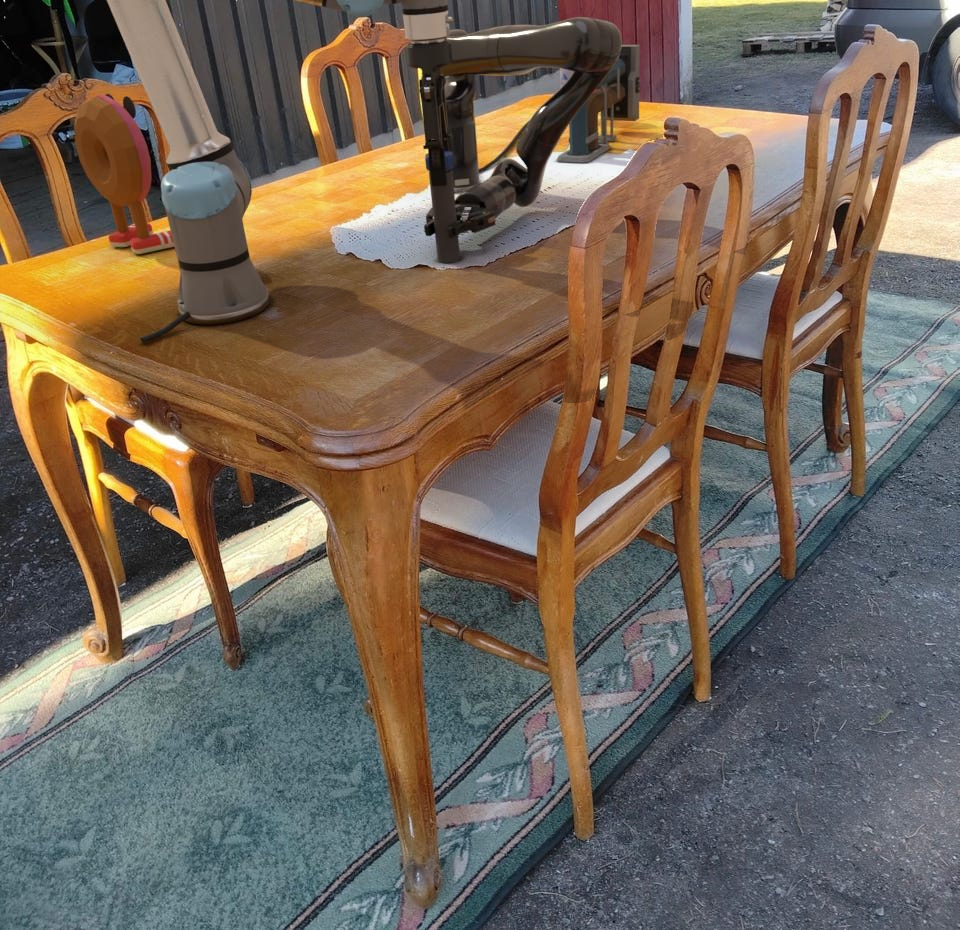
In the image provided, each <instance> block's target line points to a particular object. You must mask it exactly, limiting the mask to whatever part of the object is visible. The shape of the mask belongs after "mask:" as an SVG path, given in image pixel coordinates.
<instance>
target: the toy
mask: <svg viewBox="0 0 960 930" xmlns="http://www.w3.org/2000/svg"><path fill="white" fill-rule="evenodd" d="M136 116H137V111H136V106H135V103H134V101H133V99H132V98H131V97H129V96H128V95H126V96H124V97H123V99H122V104H121V103H119V102H118V101H117V100H115V98H114V97H113V96H112V94H111V93H106V94H105V95H104V94H101V93H99V94H97V95H95V96H93V97H91V98H89V99H86V100H85V101H83V102H81V104H79V106H78V108H77V112H76V115H75V118H74V127H73V129H74V145H75V148H76V152H77V155H78V159H79V163H80V165H81V167H82V168H83V171H84V172H85V175H86V178H87V179H88V180H89V182H90V183H91V184H92V185H93V186H94V188H95V189H96V190H97V191H98V192H99V194H100V195H102V197H103V198H104V199H106V200H108V202H109V206H110V208H111V213H112V216H113V221H114V224H115V227H116V231H114V232H112V233H110V234H109V235H108V240H109V245H110V246H111V247H114V248H127V247H130V248H131V251H132V253H134V254H135V255H142V254H146V253H151V252H156V251H162V250H167V249H170V248H175V247H174V242H173V238H172V234H171V230H170V229H169V230H166V231H160V232H156V233H154V230H153V227H152V225H151V223H149V222H148V220H147V217H146V213H145V209H144V205H143V201H144V200H145V199H146V198H147V196H148V194H149V192H150V189H151V185H152V168H151V167H152V162H151V161H152V160H151V156H150V152H149V148H148V145H147V142H146V140H145V139H146V138H145V137H144V135H143V133H142V131H141V128H140V127H139V125H138V124H137V122H136V120H135V118H136ZM126 206H127V207H130V212H131V216H132V220H133V223H132V224H130V225H129V224H128V219H127V215H126V212H125V207H126Z"/></svg>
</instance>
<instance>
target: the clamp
mask: <svg viewBox="0 0 960 930" xmlns="http://www.w3.org/2000/svg"><path fill="white" fill-rule="evenodd" d="M640 50H641V45H640V44H622V47H621V52H620V55H619V57H618V59H617V61H616V63H615V65H614V66H613V68H612V69H611V70H610V72H609V73H608V74H607V75H606V77H605V78H604V79H603V80H602V82H601V83H600V84H599V85H598V87H597V88H596V89H595V90H598V91H596V92H593V93H592V94H591V96H590V97H589V98H588V99H587V101H586V102H585V103H584V105H583V106H582V107H581V108H580V110H579V111H578V112H577V114H576V115H575V116H574V118H573V119H572V120H571V122H570V123H569V125H568V128H569V129H568V130H569V136H568V143H569V149H568V150H566V151H564V152H562V153H560V154H558V156H557V158H556V161H558V162H566V163H583V164H584V163H589V162H591V161H593V160H594V159H596V158H597V157H599V156H601V155H602V154H604V153H605V152H607V151H609V150H610V149H611V148H612V147H611V146H610V142H614V141H616V140H618V136H617V135H615V134H614V121H615V122H636V121H637V120H640V77H641V76H640V72H641V71H640V69H641V67H640V66H641V65H640V64H641V63H640V61H641V60H640V59H641V51H640ZM599 113H600V132H599ZM608 121H610V127H609V128H610V131H609V134H608V124H607V123H608ZM599 133H600V134H599Z"/></svg>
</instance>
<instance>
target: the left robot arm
mask: <svg viewBox="0 0 960 930" xmlns="http://www.w3.org/2000/svg"><path fill="white" fill-rule="evenodd" d="M294 1H295V2H299V3H304V4H309V5H313V6H318V7H324V8H326V9H331V10H336V11H341V12H344V13H346V14H347V15H349V16H351V17H352V16H353V17H357V18H367V17H370V16H372V15H374V14H375V13H376V12H378V11H379V10H380V9H381V8H382V6H385V5H397V4H401V8H402V21H403V31H404V39H405V40H406V41H408V43H407V44H406V45H405V47H406V56H407V65H408V66H409V68H410V69H411V68H412V69H416V70H417V69H420V70H421V78H420V79H418V80H419V81H418V87H419V89H418V92H419V95H420V102H421V108H422V109H421V110H422V121H423V130H424V132H423V133H424V140H425V141H424V145H423V146H422V147H423V150H427V153H428V154H429V164H430V174H431V184H432V186H447V175H446V164H445V153H444V151H449V147H448V139H447V138H452V133H447V132H448V131H449V127H448V120H447V109H446V96H445V84H446V78H445V76H444V74H441V70H440V67H443V66H447V65H449V64H451V63H452V48H451V42H450V40H448V39H447V37H448V36H449V35H450V30H451V28H450V24H452V23H453V22H454V18H453V17H452V16H448V15H449V3H448V0H293V2H294ZM106 2H107V4H108V6H109V9H110V11H111V14H112V16H113V19H114V21H115V23H116V25H117V28H118V30H119V32H120V35H121V37H122V39H123V42H124V44H125V47H126V49H127V51H128V54H129V56H130V59H131V61H132V63H133V65H134V68H135V70H136V73H137V74H138V75H137V76H138V77H139V80H140V82H141V85H142V86H143V89H144V91H145V94H146V96H147V98H148V100H149V104H150V105H151V108H152V110H153V112H154V115H155V117H156V119H157V122H158V124H159V127H160V129H161V131H162V133H163V135H164V138H165V142H166V144H167V145H168V152H167V155H166V158H165V159H164V160H165V163H166V166H167V168H168V172H167V173H165V175H164V176H163V177H162V179H161V182H160V191H161V202H162V205H163V207H164V209H165V214H166V217H167V221H168V226H169V231H170V230H171V234H172V238H173V242H174V247H173V248H174V250H175V254H176V258H177V262H178V266H179V283H178V294H177V310H178V314H179V316H178V317H176V318H175V319H174V320H173V321H170V323H168V324H167V325H165V326H164V327H162V328H161V329H159V330H157V331H154V332H151V333H149V334H147V335H144V336H142V337H140V342H141V343H142V344H146V343H148V342H151V341H153V340H156V339H158V338H160V337H162V336H164V335H166V334H168V333H169V332H171V331H172V330H173V329H175V328H176V327H177V326H179V325H181V323H183V322H186V323H189V324H193V325H202V326H203V325H204V326H205V325H206V326H210V325H222V324H230V323H233V322H239V321H241V320H245V319H248V318H251V317H253V316H256V315H258V314H260V312H263V311H264V310H265V309H266V308H267V307H268V306H269V305H270V296H269V291H268V289H267V287H266V284H265V283H264V282H263V280H262V278H261V276H260V274H259V272H258V270H257V269H256V267H255V265H254V264H253V262H252V260H251V257H250V251H249V246H248V241H247V236H246V232H245V227H244V220H243V218H244V216H245V214H246V211H247V210H248V207H249V205H250V203H251V200H252V194H253V193H252V191H253V190H252V187H253V186H252V180H251V177H250V174H249V171H248V170H247V168H246V166H245V165H244V164H243V162H242V161H241V160H240V159H239V158H238V156H237V153H236V151H235V148H234V146H233V143H232V141H231V139H230V138H229V137H228V136H226V135H224V134H222V133H220V132H219V131H218V129H217V127H216V124H215V122H214V119H213V117H212V114H211V112H210V109H209V106H208V104H207V102H206V99H205V96H204V94H203V92H202V89H201V87H200V84H199V82H198V79H197V76H196V74H195V71H194V69H193V66H192V64H191V61H190V58H189V55H188V54H187V51H186V48H185V45H184V44H183V41H182V38H181V36H180V33H179V31H178V28H177V26H176V23H175V21H174V18H173V16H172V13H171V11H170V8H169V6H168V3H167V0H106ZM445 139H447V140H445Z"/></svg>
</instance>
